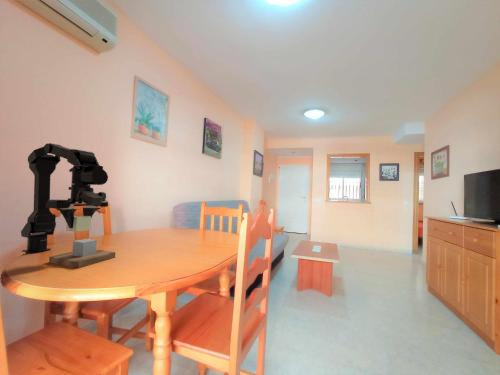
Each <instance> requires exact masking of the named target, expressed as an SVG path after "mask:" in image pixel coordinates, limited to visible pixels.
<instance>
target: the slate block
mask: <svg viewBox="0 0 500 375" xmlns="http://www.w3.org/2000/svg"><path fill="white" fill-rule="evenodd" d="M72 241H73V242H72V251H71V252H72V255H74V256H80V257H84V256H88V255H92V254H96V249H97V239H90V238H84V239H79V240H72Z"/></svg>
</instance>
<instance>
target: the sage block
mask: <svg viewBox="0 0 500 375" xmlns="http://www.w3.org/2000/svg"><path fill="white" fill-rule="evenodd" d="M91 221H92V218H91V216H83V215H74V222H73V228H69V226H68V224H67V223H66V231H68V232H76V233H77V232H84V231H90V230H91V224H92V222H91Z"/></svg>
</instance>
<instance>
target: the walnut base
mask: <svg viewBox="0 0 500 375" xmlns="http://www.w3.org/2000/svg"><path fill="white" fill-rule="evenodd" d="M72 252H73V251H69V252H65V253H60V254H56V255H51V256H49V258H48V259H49V260H48V262H49V264H54V265H59V266H60V265H61V266H66V267H71V268H76V269H82V268H85V267H88V266H92V265H95V264H98V263H101V262H102V263H103V262H105V261H108V260H111V259H115V258H116V251H114V252H113V251H108V250H102V249H97V248H96V254H92V255H88V256H84V257H80V256H74V255H72Z"/></svg>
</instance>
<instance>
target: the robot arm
mask: <svg viewBox="0 0 500 375" xmlns="http://www.w3.org/2000/svg"><path fill="white" fill-rule="evenodd" d="M61 158H62V159H66V161H67V163H69V164H70V165H72V166H73V167H71V168H70V169H69V170H68V172H70V173H71V185H70V186H68V189H67V190H70V197H69V198H67V199H51V176H52V174H53V173H54V172H55V171H56V170H57V166H58V164H60V162H61ZM27 163H28V167H29V169H30V171H31V173H32V174H33V176H34V182H33V184H34V186H33V190H34V191H33V209H32V210H33V211H32V212H31V213H30V215H29V216H28V217H27V221H26V223H25V225H24V226H23V228H22V230H20V235H21V237H22V238H26V239H27V242H26V249H22V250H21V252H22V253H23V252H24V253H28V254H36V253H42V252H47V251H51V248H49V247H48V236H52V235H54V233H55V229H56V226H57V222H56V218H57V217H56V214H55V213H52V211H51V209H56V211H59V213H60V214H61V215H62V217H63V218H64V220H65V223H66V225H67V224H68V226H69V228H73V222H74V216H75V213H76V212H77V210H78V209H77V208H75V207H82V216H91V219H92V218H93V216H94V214H95V212H97V211H98V210H101V208H106V207H107V208H108V207H109V200H108V199H107V192H104V191H100V192H99V191H98V192H94V188H93V187H91V186H94V185H95V186H102V185H104V184H106V183H107V182H108V179H109V175H108V173H107V171H105V170H104V166H103V165H101V164H100V163H99V161H98V160H97V157H96V155H95V153H94V152H93V151H88V150H83V149H82V150H81V149H76V148H68V147H65V146H63V145H61V144H55V143H51V142H50V143H46V144H44V146H42V147H41V146H40V147H39V148H36V149H34V150H33V151H31V153H30V154H29V155H28V156H27Z"/></svg>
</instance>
